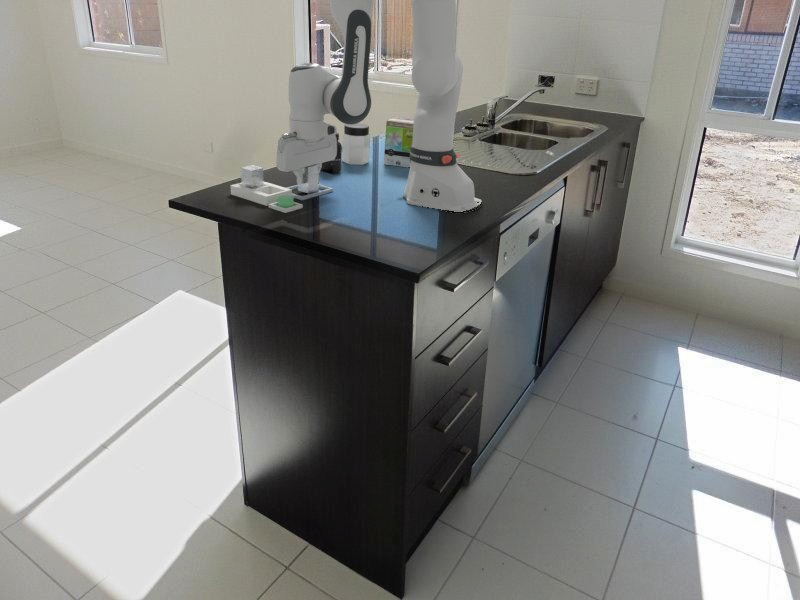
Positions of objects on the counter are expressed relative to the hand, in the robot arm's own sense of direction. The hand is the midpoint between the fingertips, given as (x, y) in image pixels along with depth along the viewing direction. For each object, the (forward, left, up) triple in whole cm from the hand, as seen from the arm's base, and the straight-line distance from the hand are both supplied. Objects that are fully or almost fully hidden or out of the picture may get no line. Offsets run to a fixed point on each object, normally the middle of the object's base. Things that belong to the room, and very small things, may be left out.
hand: (308, 181), depth 170 cm
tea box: (+3, -52, -5) cm, 52 cm away
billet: (0, 0, -2) cm, 2 cm away
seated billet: (+9, +11, -3) cm, 15 cm away
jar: (+17, -41, -5) cm, 44 cm away
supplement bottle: (+14, -25, -5) cm, 29 cm away
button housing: (-5, +13, -4) cm, 15 cm away
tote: (+1, 0, -4) cm, 4 cm away
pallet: (+6, +11, -4) cm, 14 cm away
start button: (-5, +13, -4) cm, 15 cm away
